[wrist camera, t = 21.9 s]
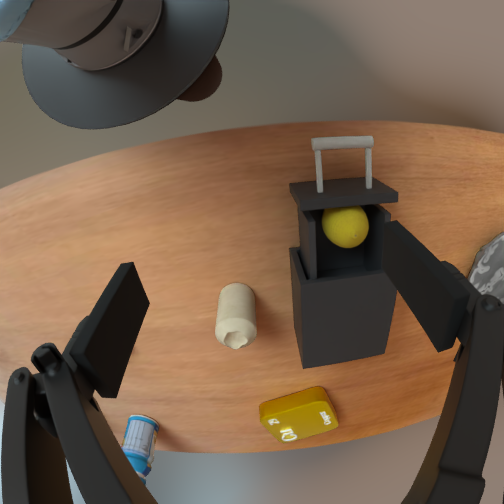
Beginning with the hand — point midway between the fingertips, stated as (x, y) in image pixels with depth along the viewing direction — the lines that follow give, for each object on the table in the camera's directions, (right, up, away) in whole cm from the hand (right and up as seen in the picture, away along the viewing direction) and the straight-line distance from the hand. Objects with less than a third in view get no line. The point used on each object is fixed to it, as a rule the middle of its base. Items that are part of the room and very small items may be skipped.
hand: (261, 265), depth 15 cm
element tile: (+10, -35, +46) cm, 59 cm away
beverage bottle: (-28, -43, +49) cm, 71 cm away
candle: (-3, -6, +32) cm, 32 cm away
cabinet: (+12, -5, +31) cm, 34 cm away
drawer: (+11, +7, +24) cm, 27 cm away
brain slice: (+47, -4, +32) cm, 57 cm away
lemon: (+10, +6, +24) cm, 27 cm away
